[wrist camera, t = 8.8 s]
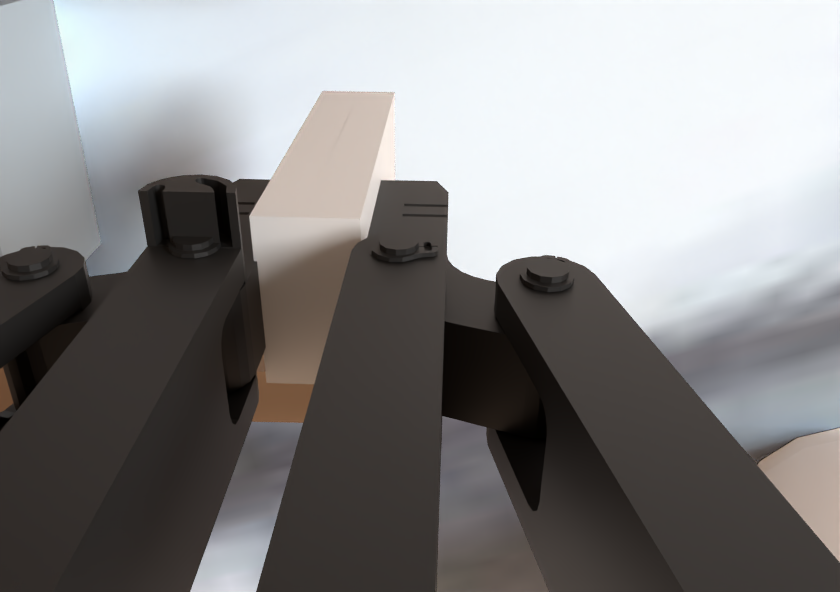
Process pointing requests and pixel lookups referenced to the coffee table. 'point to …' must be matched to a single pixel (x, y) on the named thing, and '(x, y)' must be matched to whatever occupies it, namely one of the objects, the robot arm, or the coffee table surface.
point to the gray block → (40, 138)
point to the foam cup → (811, 482)
